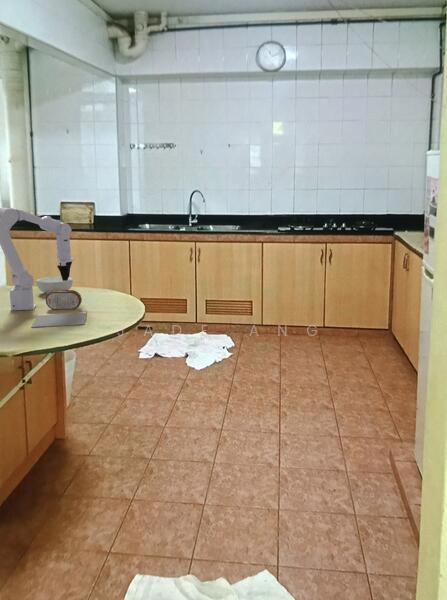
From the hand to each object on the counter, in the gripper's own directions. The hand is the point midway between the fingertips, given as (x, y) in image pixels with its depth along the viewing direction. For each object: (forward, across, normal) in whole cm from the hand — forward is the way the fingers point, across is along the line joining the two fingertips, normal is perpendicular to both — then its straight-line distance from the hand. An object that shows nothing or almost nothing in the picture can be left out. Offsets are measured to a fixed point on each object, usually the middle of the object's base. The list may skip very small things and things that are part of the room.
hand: (65, 279), depth 273 cm
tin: (+11, -16, 0) cm, 19 cm away
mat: (+10, -35, 0) cm, 37 cm away
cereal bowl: (+11, +20, +7) cm, 24 cm away
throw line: (+10, -25, 0) cm, 27 cm away
